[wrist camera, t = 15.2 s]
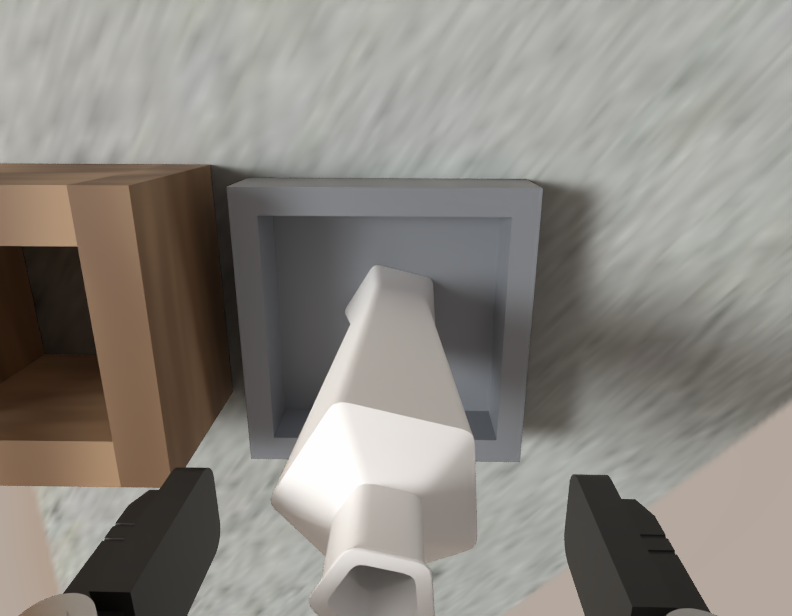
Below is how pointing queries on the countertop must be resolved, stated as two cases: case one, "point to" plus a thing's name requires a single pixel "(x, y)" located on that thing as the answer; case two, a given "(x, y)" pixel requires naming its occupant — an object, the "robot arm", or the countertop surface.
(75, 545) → the countertop surface
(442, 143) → the countertop surface
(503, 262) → the tray
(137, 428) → the wooden cubby box
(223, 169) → the countertop surface
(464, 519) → the perfume bottle
